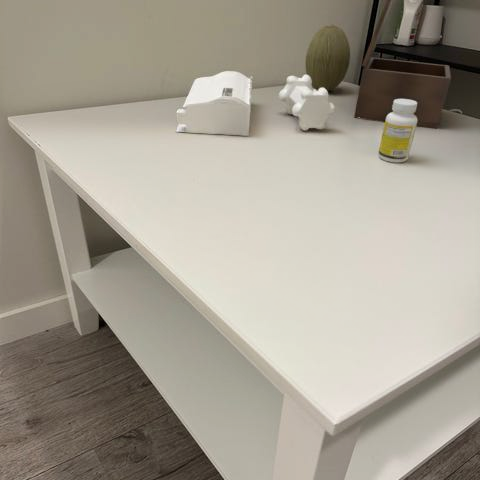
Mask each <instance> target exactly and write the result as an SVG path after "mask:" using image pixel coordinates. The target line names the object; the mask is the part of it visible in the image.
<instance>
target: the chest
mask: <svg viewBox="0 0 480 480" xmlns="http://www.w3.org/2000/svg"><path fill="white" fill-rule="evenodd" d="M450 69H451V68H450V65H447V64H438V63H429V62H428V63H427V62H419V61H408V60H399V59H390V58H380V57H372V56H371V58H370V60H369V61H368V63H367V65H366V67H364V66H363V69H362V73H361V78H360V84H359V88H358V93H357V94H358V95H357V99H356V104H355V109H354V116H353V118H354V117H360V118H366V119H365V120H368V119H371V120H370V121H375V120H377V122H383V123H385V120H386V117H387V115H388V114H389V113H391V112H393V110H392V106H393V102H394V100H395V99H409V100H413V101H416V102H417V108H416V111H415V112H414V115H415V116H416V117H417V125H416V127H421V128H427V129H428V128H429V129H435V130H436V129H437V128H438V125H439V123H440V118H441V114H442V112H443V108H444V104H445V101H446V98H447V94H448V92H449V91H448V90H449V87H450V84H451V80H452V76H451V70H450ZM360 118H359V119H360Z"/></svg>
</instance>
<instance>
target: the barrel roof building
mask: <svg viewBox="0 0 480 480" xmlns="http://www.w3.org/2000/svg"><path fill="white" fill-rule="evenodd" d="M230 94H231V95H230ZM252 94H253V76H249V77H247V76H246V75H245V74H244V73H241V72H238V71H235V70H234V71H232V70H226V71H220V72H219V73H216V74H213V75H212V76H203V77H198V78H195V79H194V81H193V83H192V85H191V88H190V90H189V92H188V95H187V97H186V99H185V101H184V104H183V105H182V108H185V109H182V108H181V109H180V108H178V109H177V111H176V125H177V128H176V130H175V133H190V134H207V135H226V136H243V137H249V136H250V135H249V133H250V126H251V125H250V124H251V109H252V108H251V107H252V96H253V95H252Z"/></svg>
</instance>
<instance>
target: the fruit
mask: <svg viewBox="0 0 480 480" xmlns="http://www.w3.org/2000/svg"><path fill="white" fill-rule="evenodd" d="M350 62H351V47H350V43H349V40H348V36H347V35H346V33H345V31H344V30H343V29H342V28H341V27H339V26H337V25H334V24H331V25H324V26H323V27H321V28H319V30H317V32H316V33H315V34H314V35H313V37H312V38H311V41H310V42H309V45H308V48H307V51H306V55H305V74H307V75H309V76H310V78H311V80H312V84H311V85H312V88H313V89H316V90H317V91H318V90H319V88H325V89H326V90H327V92H329V91H333V90H335V89H336V88H337V87H339V86H340V85H341V83H342V82H343V81H344V79H345V77H346V75H347V73H348V71H349V67H350Z"/></svg>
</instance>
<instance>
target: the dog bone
mask: <svg viewBox="0 0 480 480" xmlns="http://www.w3.org/2000/svg"><path fill="white" fill-rule="evenodd" d="M285 80H286V81H285V82H286V84H285V85H284V88H283V89H281V90H280V91H279V94H278V99H279V100H280V101H281V102H284V104H285V105H284V109H285V112H286V113H287V114H288V115H293V116H294V117H298V126H299V128H300V129H301V130H302V131H304V132H305V131H308V130H309V129H317V130H323V129H325V127H326V126H327V125H326V122H327V121H328V119H329V117H330V116H332V115H333V114H334V112H335V108H336V107H335V104H334V103H332V102H330V100H329V98H330V97H329V96H330V95H329V91H327V90H326V89H325V88H319V90H317V89H315V88H314V87H313V86H312V85H311V84H312V80H311V78H310V76H309V75H307V74H306V73H305V74H303V75H302V77H297V76H296V75H289V76H288V77H287V78H286V79H285Z"/></svg>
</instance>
